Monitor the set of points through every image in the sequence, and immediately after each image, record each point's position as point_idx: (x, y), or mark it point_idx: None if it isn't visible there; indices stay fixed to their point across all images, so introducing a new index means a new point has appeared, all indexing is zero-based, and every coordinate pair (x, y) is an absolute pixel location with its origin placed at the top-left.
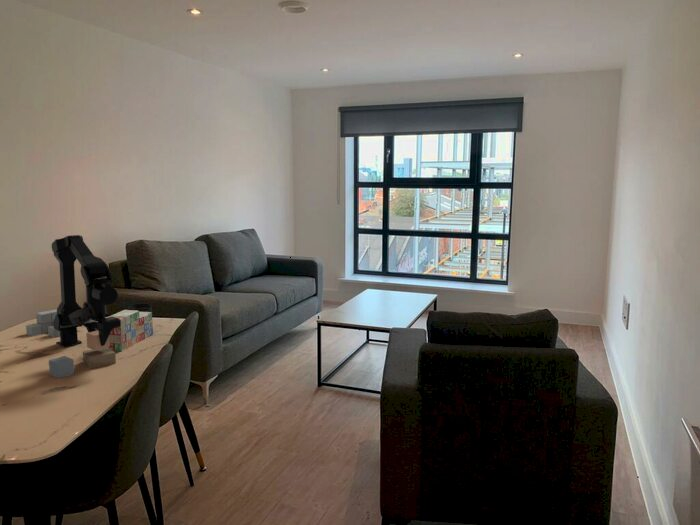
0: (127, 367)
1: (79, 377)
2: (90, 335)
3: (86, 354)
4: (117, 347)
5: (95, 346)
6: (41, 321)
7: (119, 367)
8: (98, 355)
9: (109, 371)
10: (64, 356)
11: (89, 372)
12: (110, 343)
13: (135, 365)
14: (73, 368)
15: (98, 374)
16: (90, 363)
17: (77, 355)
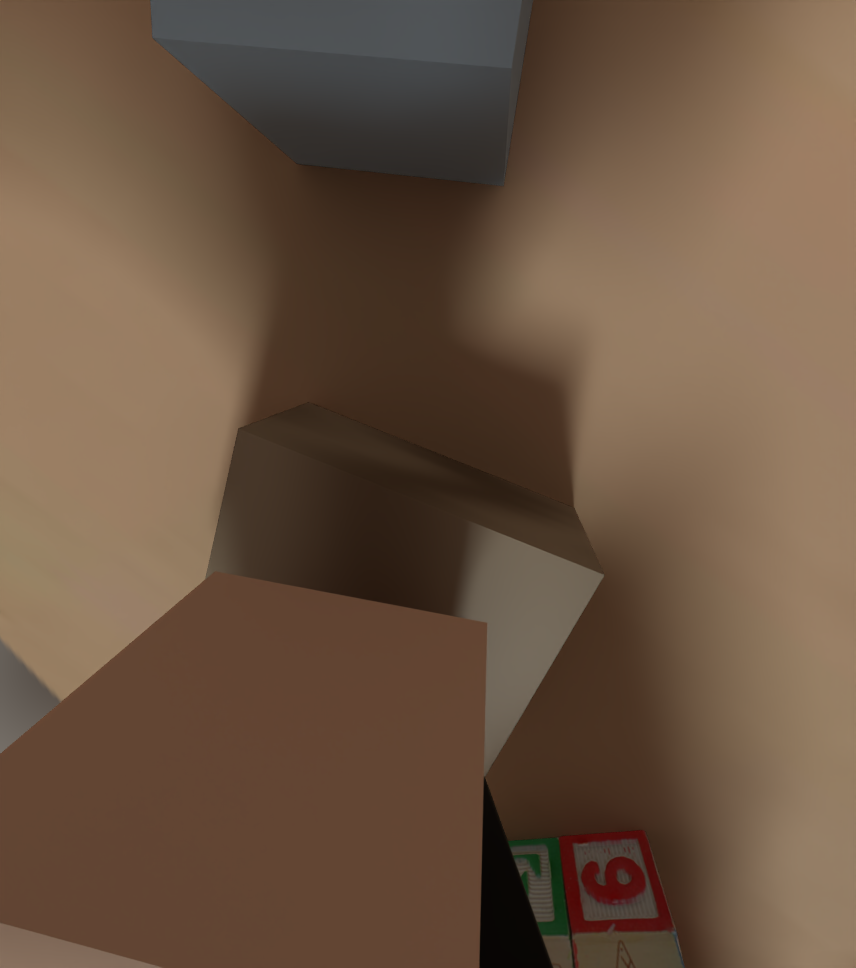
0: (73, 589)
1: (138, 124)
2: (172, 904)
3: (413, 501)
4: (522, 881)
5: (168, 619)
6: None
7: (121, 559)
8: (233, 550)
9: (86, 442)
10: (480, 28)
11: (205, 311)
12: (612, 923)
13: (72, 649)
14: (261, 128)
15: (81, 324)
16: (279, 413)
17: (825, 620)
